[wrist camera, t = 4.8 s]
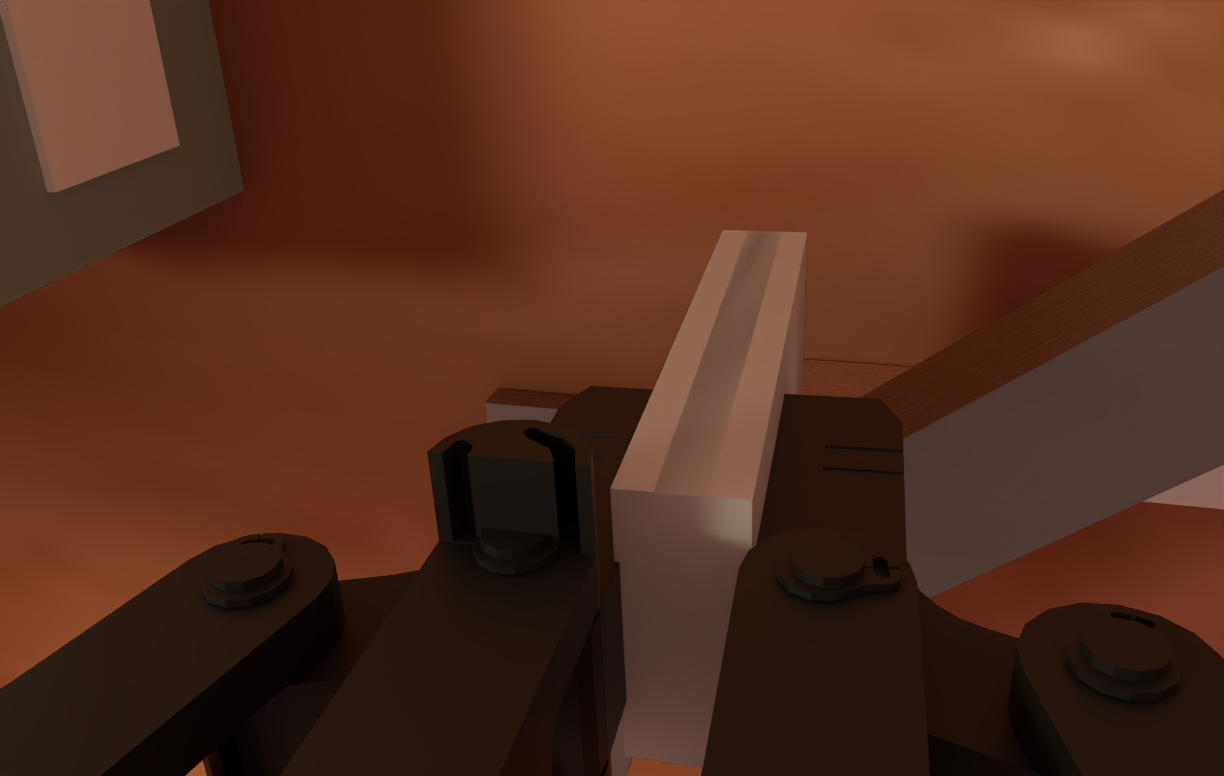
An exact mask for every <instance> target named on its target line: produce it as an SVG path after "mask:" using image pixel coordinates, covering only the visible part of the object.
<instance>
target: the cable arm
mask: <svg viewBox="0 0 1224 776" xmlns="http://www.w3.org/2000/svg"><path fill="white" fill-rule="evenodd" d="M859 398H872V399H882V400H883V401H884V403H885V404H886V405H887V406H888V407H889V408H890V409H891V410H892V412H893V413H894V414H895V415H896V416H897V417H898V418H899V419H900V421H901V422H902V423H903V448H904V451H903V455H904V483H905V518H906V553H907V561H908V562H909V563H910V566H911V568H912V571H913V573H914V575H915V578H916V580H917V584H918V588H919V589H920V591H921V592H922V593H923V594H925V595H926V596H927V597H928V598H931V597H934V596H936V595H938V594H940V593H942V592H945V591H947V590H949V589H951V588H953V587H956V586H958V585H960V584H962V583H964V582H967V581H969V580H971V579H973V578H975V577H978V576H980V575H982V574H984V573H986V572H989V571H991V570H993V569H995V568H997V567H1000V566H1002V565H1004V564H1006V563H1008V562H1011V561H1013V560H1015V559H1017V558H1019V557H1022V556H1024V555H1026V554H1028V553H1030V552H1033V551H1035V550H1037V549H1039V548H1042V547H1044V546H1046V545H1048V544H1050V543H1053V542H1055V541H1057V540H1059V539H1061V538H1064V537H1066V536H1068V535H1070V534H1072V533H1075V532H1077V531H1079V530H1081V529H1083V528H1086V527H1088V526H1090V525H1092V524H1094V523H1097V522H1099V521H1101V520H1103V519H1105V518H1108V517H1110V516H1112V515H1114V514H1116V513H1119V512H1121V511H1123V510H1125V509H1127V508H1130V507H1132V506H1134V505H1136V504H1138V503H1141V502H1143V501H1145V500H1147V499H1149V498H1152V497H1154V496H1156V495H1158V494H1160V493H1163V492H1165V491H1167V490H1169V489H1171V488H1174V487H1176V486H1178V485H1180V484H1182V483H1185V482H1187V481H1189V480H1191V479H1193V478H1196V477H1198V476H1200V475H1202V474H1204V473H1207V472H1209V471H1211V470H1213V469H1216V468H1218V467H1220V466H1222V465H1224V190H1222V191H1220V192H1219V193H1217V194H1215V195H1213V196H1212V197H1210V198H1208V199H1206V200H1205V201H1203V202H1201V203H1199V204H1198V205H1196V206H1194V207H1192V208H1191V209H1189V210H1187V211H1185V212H1184V213H1182V214H1180V215H1178V216H1177V217H1175V218H1173V219H1171V220H1170V221H1168V222H1166V223H1164V224H1163V225H1161V226H1159V227H1157V228H1156V229H1154V230H1152V231H1150V232H1149V233H1147V234H1145V235H1143V236H1142V237H1140V238H1138V239H1136V240H1135V241H1133V242H1131V243H1129V244H1127V245H1126V246H1124V247H1122V248H1120V249H1119V250H1117V251H1115V252H1113V253H1112V254H1110V255H1108V256H1106V257H1105V258H1103V259H1101V260H1099V261H1098V262H1096V263H1094V264H1092V265H1091V266H1089V267H1087V268H1085V269H1084V270H1082V271H1080V272H1078V273H1077V274H1075V275H1073V276H1071V277H1070V278H1068V279H1066V280H1064V281H1063V282H1061V283H1059V284H1057V285H1056V286H1054V287H1052V288H1050V289H1049V290H1047V291H1045V292H1043V293H1042V294H1040V295H1038V296H1036V297H1035V298H1033V299H1031V300H1029V301H1028V302H1026V303H1024V304H1022V305H1021V306H1019V307H1017V308H1015V309H1014V310H1012V311H1010V312H1008V313H1007V314H1005V315H1003V316H1001V317H1000V318H998V319H996V320H994V321H993V322H991V323H989V324H987V325H986V326H984V327H982V328H980V329H979V330H977V331H975V332H973V333H971V334H970V335H968V336H966V337H964V338H963V339H961V340H959V341H957V342H956V343H954V344H952V345H950V346H949V347H947V348H945V349H943V350H942V351H940V352H938V353H936V354H935V355H933V356H931V357H929V358H928V359H926V360H924V361H922V362H921V363H919V364H917V365H915V366H914V367H912V368H910V369H908V370H907V371H905V372H903V373H901V374H900V375H898V376H896V377H894V378H893V379H891V380H889V381H887V382H886V383H884V384H882V385H880V386H879V387H877V388H875V389H873V390H872V391H870V392H868V393H866V394H865V395H863V396H861V397H859Z"/></svg>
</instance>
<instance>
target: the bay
mask: <svg viewBox="0 0 1224 776" xmlns="http://www.w3.org/2000/svg"><path fill="white" fill-rule="evenodd" d="M910 368H912V367H907V366H892V365H878V364H864V363H850V362H835V361H821V360H807V359H803V383H802V395H816V396H835V397H853V398H859V397H861V396H863V395H865V394H866V393H868V392H870V391H872V390H873V389H875V388H877V387H879V386H880V385H882V384H884V383H886V382H887V381H889V380H891V379H893V378H894V377H896V376H898V375H900V374H901V373H903V372H905V371H907V370H908V369H910ZM1143 502H1153V503H1163V504H1174V505H1184V506H1195V507H1205V508H1216V509H1224V465H1222V466H1220V467H1218V468H1216V469H1213V470H1211V471H1209V472H1207V473H1204V474H1202V475H1200V476H1198V477H1196V478H1193V479H1191V480H1189V481H1187V482H1185V483H1182V484H1180V485H1178V486H1176V487H1174V488H1171V489H1169V490H1167V491H1165V492H1163V493H1160V494H1158V495H1156V496H1154V497H1152V498H1149V499H1147V500H1145V501H1143Z"/></svg>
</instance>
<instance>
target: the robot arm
mask: <svg viewBox="0 0 1224 776" xmlns="http://www.w3.org/2000/svg"><path fill="white" fill-rule="evenodd" d="M806 256H807V232H779V231H737V230H723V231H722V233H721V236H720V238H719V240H718V243H717V245H716V247H715V249H714V252H713V254H712V256H711V259H710V261H709V263H708V265H707V268H706V270H705V272H704V275H703V277H702V279H701V282H700V284H699V286H698V288H697V291H696V293H695V295H694V298H693V300H692V302H691V305H690V307H689V309H688V311H687V314H686V316H685V318H684V321H683V323H682V325H681V327H680V330H679V332H678V334H677V337H676V339H675V341H674V344H673V346H672V348H671V350H670V353H669V355H668V357H667V360H666V362H665V364H664V367H663V369H662V371H661V373H660V376H659V378H658V380H657V383H656V385H655V387H654V390H651V389H633V388H615V387H597V386H590V387H588V388H587V389H585V390H584V391H582V392H581V393H579V394H578V395H576V396H575V397H573V398H571V399H570V400H568V401H567V402H565V403H564V404H562V405H561V406H560V407H559V408H558V410H557V412H556V414H555V415H554V417H553V419H552V420H551V422H544V421H539V420H500V421H495V422H490V423H485V424H480V425H475V426H471V427H469V428H466V429H464V430H461V431H459V432H457V433H454V434H452V435H450V436H447V437H445V438H444V439H443V440H441V441H440V442H439V443H438V444H436V445H435V446H434V447H433V448H432V449H430V450H429V451H428V452H427V453H428V460H429V468H430V475H431V483H432V490H433V498H434V505H435V513H436V520H437V528H438V535H439V542H438V543H437V545H436V546H435V548H434V549H433V551H432V552H431V554H430V555H429V557H428V558H427V560H426V561H425V563H424V564H423V565H422V567H421V568H420V570H418V571H412V572H407V573H401V574H395V575H387V576H378V577H369V578H360V579H351V580H342V581H338V577H337V571H336V566H335V561H334V560H333V558H332V556H331V554H330V553H329V551H328V549H327V548H326V546H324V545H322V544H320V543H318V542H316V541H314V540H312V539H310V538H308V537H306V536H298V535H290V534H283V533H264V534H263V535H260V534H255V535H248V536H243V537H241V538H239V539H236V540H233V541H229V542H226V543H223V544H219V545H216V546H214V547H212V548H210V549H208V550H207V551H205V552H203V553H201V554H199V555H197V556H195V557H193V558H191V559H190V560H188V561H186V562H185V563H183V564H182V565H181V566H179V567H178V568H176V569H175V570H173V571H172V572H170V573H169V574H167V575H166V576H165V577H163V578H162V579H160V580H159V581H157V582H156V583H154V584H153V585H151V586H150V587H149V588H147V589H146V590H144V591H143V592H141V593H140V594H138V595H137V596H135V597H134V598H133V599H131V600H130V601H128V602H127V603H125V604H124V605H122V606H121V607H119V608H118V609H117V610H115V611H114V612H112V613H111V614H109V615H108V616H106V617H105V618H103V619H102V620H101V621H99V622H98V623H96V624H95V625H93V626H92V627H90V628H89V629H87V630H86V631H85V632H83V633H82V634H80V635H79V636H77V637H76V638H74V639H73V640H71V641H70V642H69V643H67V644H66V645H64V646H63V647H61V648H60V649H58V650H57V651H55V652H54V653H52V654H51V655H50V656H48V657H47V658H45V659H44V660H42V661H41V662H39V663H38V664H36V665H35V666H34V667H32V668H31V669H29V670H28V671H26V672H25V673H23V674H22V675H20V676H19V677H18V678H16V679H15V680H13V681H12V682H10V683H9V684H7V685H6V686H4V687H3V688H2V689H0V776H185V775H186V774H188V773H189V772H190V771H191V770H192V769H193V768H194V767H195V766H197V765H198V764H199V763H200V762H201V761H202V760H203V763H204V767H205V770H206V774H207V776H612V765H611V750H612V746H613V743H614V740H615V737H616V733H617V730H618V727H619V724H620V720H621V717H622V716H623V735H624V754H625V757H632V758H639V759H647V760H655V761H662V762H664V763H672V764H679V765H687V766H695V767H703V769H702V774H701V776H1224V659H1223V658H1222V657H1221V656H1220V655H1219V654H1218V653H1217V652H1216V651H1214V650H1213V649H1212V648H1211V647H1210V646H1209V645H1208V644H1206V643H1205V642H1204V641H1203V640H1202V639H1201V638H1200V637H1198V636H1197V635H1196V634H1195V633H1193V632H1191V631H1189V630H1187V629H1185V628H1183V627H1181V626H1179V625H1177V624H1175V623H1173V622H1171V621H1169V620H1167V619H1165V618H1163V617H1161V616H1159V615H1155V614H1151V613H1147V612H1144V611H1141V610H1136V609H1133V608H1129V607H1125V606H1121V605H1111V604H1093V603H1077V604H1072V605H1067V606H1062V607H1057V608H1052V609H1048V610H1046V611H1045V612H1043V613H1041V614H1040V615H1038V616H1037V617H1035V618H1034V619H1032V620H1030V621H1029V622H1027V623H1026V624H1025V626H1024V628H1023V631H1022V633H1021V635H1020V638H1015V637H1012V636H1009V635H1006V634H1002V633H999V632H996V631H992V630H989V629H986V628H983V627H981V626H978V625H975V624H973V623H970V622H968V621H965V620H962V619H960V618H958V617H956V616H954V615H953V614H951V613H949V612H948V611H946V610H944V609H942V608H941V607H939V606H937V605H936V604H935V603H934V602H933V601H931V600H930V599H929V598H928V597H927V596H926V595H925V594H923V593H922V592H921V591H920V589H919V588H918V584H917V580H916V578H915V575H914V573H913V571H912V568H911V566H910V563H909V562H908V561H907V553H906V518H905V483H904V455H903V451H904V448H903V423H902V422H901V421H900V419H899V418H898V417H897V416H896V415H895V414H894V413H893V412H892V410H891V409H890V408H889V407H888V406H887V405H886V404H885V403H884V401H883V400H882V399H872V398H853V397H835V396H816V395H802V383H803V351H804V319H805V288H806Z"/></svg>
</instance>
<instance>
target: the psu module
mask: <svg viewBox="0 0 1224 776" xmlns="http://www.w3.org/2000/svg"><path fill="white" fill-rule="evenodd" d="M242 191H244V185H243V180H242V175H241V169H240V164H239V159H238V153H237V148H236V143H235V137H234V132H233V127H232V121H231V116H230V111H229V105H228V100H227V95H226V89H225V84H224V79H223V73H222V68H221V63H220V57H219V52H218V47H217V41H216V36H215V31H214V25H213V20H212V15H211V9H210V4H209V0H0V307H2V306H4V305H6V304H8V303H10V302H12V301H14V300H16V299H18V298H20V297H23V296H25V295H27V294H29V293H31V292H33V291H35V290H37V289H39V288H41V287H43V286H46V285H48V284H50V283H52V282H54V281H56V280H58V279H60V278H62V277H64V276H67V275H69V274H71V273H73V272H75V271H77V270H79V269H81V268H83V267H85V266H87V265H90V264H92V263H94V262H96V261H98V260H100V259H102V258H104V257H106V256H108V255H110V254H113V253H115V252H117V251H119V250H121V249H123V248H125V247H127V246H129V245H131V244H134V243H136V242H138V241H140V240H142V239H144V238H146V237H148V236H150V235H152V234H154V233H157V232H159V231H161V230H163V229H165V228H167V227H169V226H171V225H173V224H175V223H177V222H180V221H182V220H184V219H186V218H188V217H190V216H192V215H194V214H196V213H198V212H200V211H203V210H205V209H207V208H209V207H211V206H213V205H215V204H217V203H219V202H221V201H224V200H226V199H228V198H230V197H232V196H234V195H236V194H238V193H240V192H242Z"/></svg>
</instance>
